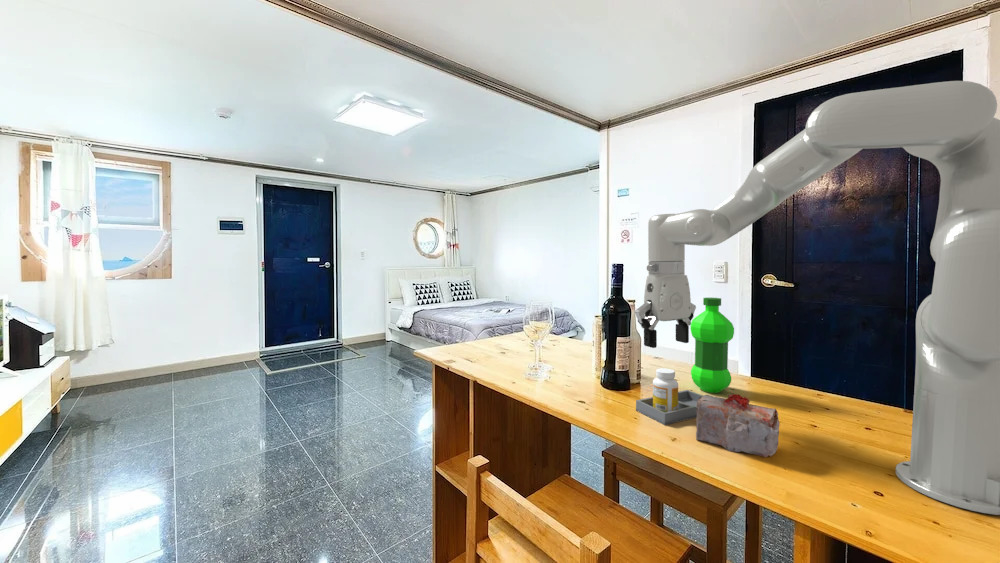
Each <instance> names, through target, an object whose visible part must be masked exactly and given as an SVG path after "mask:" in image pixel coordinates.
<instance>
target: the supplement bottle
mask: <svg viewBox="0 0 1000 563" xmlns="http://www.w3.org/2000/svg"><path fill="white" fill-rule="evenodd" d="M655 374H656V375H655V376H656V377H655V378H654V379H653V380H652V397H653V407H654V408H656V409H658V410H661V411H663V412H669V411H673V410H678V392H679V382H678V381H677V380H676V379H675V378H676V371H675V370H674V369H672V368H664V367H661V368H657V369H656V370H655Z"/></svg>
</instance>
